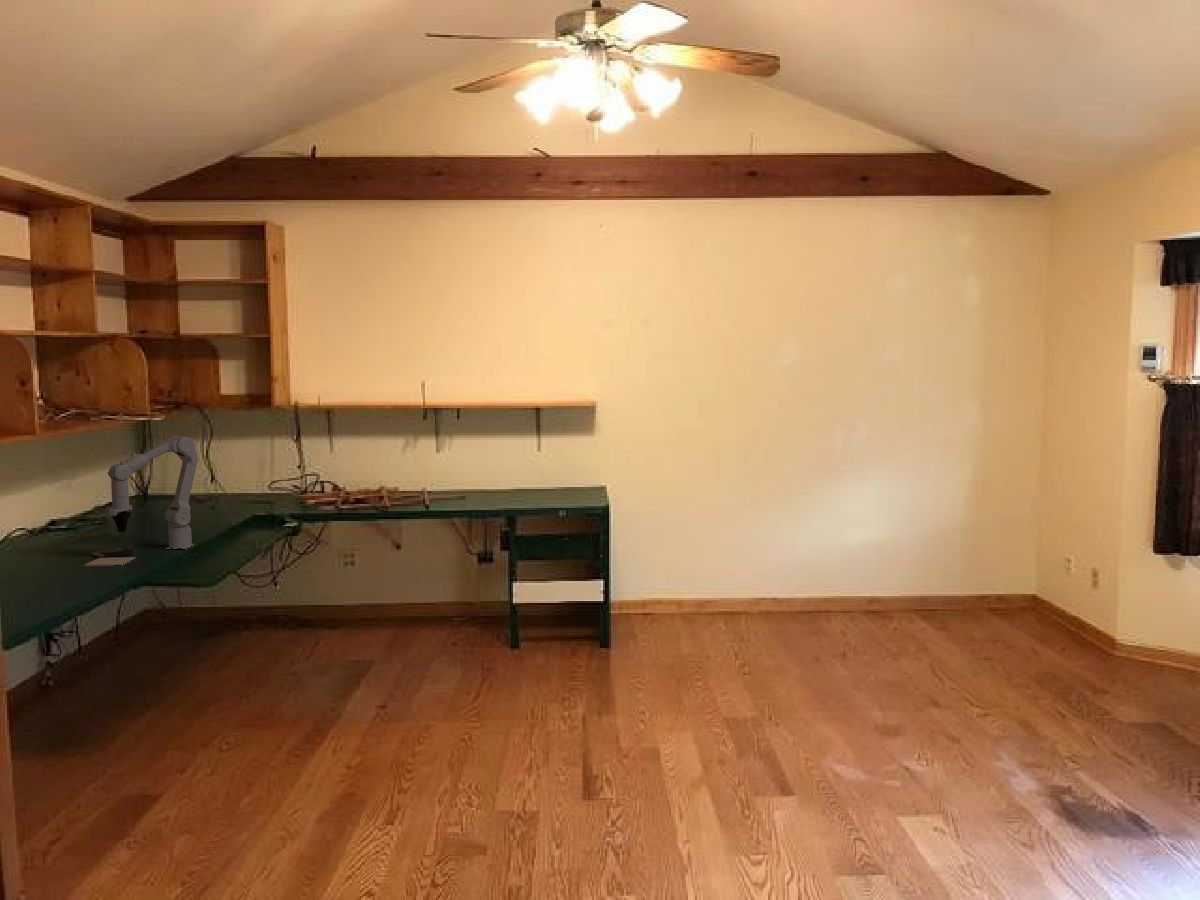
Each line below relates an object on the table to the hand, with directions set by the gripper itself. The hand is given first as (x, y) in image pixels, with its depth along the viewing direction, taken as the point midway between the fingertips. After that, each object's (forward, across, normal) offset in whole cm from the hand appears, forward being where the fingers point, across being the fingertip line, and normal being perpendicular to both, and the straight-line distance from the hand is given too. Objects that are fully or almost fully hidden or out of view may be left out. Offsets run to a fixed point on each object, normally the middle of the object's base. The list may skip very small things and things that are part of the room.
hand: (122, 531), depth 360 cm
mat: (+9, +10, 0) cm, 14 cm away
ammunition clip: (+8, +1, -1) cm, 8 cm away
